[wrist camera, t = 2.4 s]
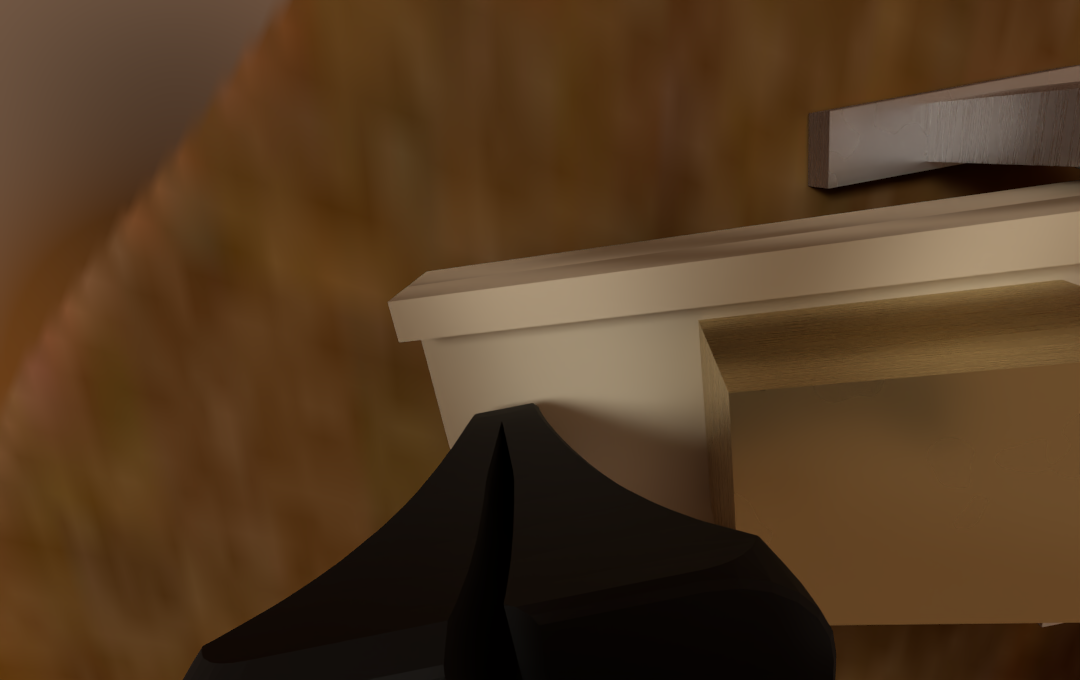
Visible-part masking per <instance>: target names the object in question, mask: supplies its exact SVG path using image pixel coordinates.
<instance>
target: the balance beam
mask: <svg viewBox="0 0 1080 680" xmlns="http://www.w3.org/2000/svg"><path fill="white" fill-rule="evenodd" d="M1053 280H1065V281H1068V282H1071V283H1074V284H1076V285H1079V286H1080V180H1076V181H1069V182H1062V183H1055V184H1047V185H1040V186H1033V187H1026V188H1019V189H1012V190H1005V191H998V192H990V193H983V194H976V195H969V196H962V197H955V198H948V199H941V200H933V201H926V202H919V203H912V204H905V205H898V206H891V207H884V208H876V209H869V210H862V211H855V212H848V213H841V214H834V215H827V216H819V217H812V218H805V219H798V220H791V221H784V222H777V223H770V224H762V225H755V226H748V227H741V228H734V229H727V230H720V231H713V232H705V233H698V234H691V235H684V236H677V237H670V238H663V239H656V240H648V241H641V242H634V243H627V244H620V245H613V246H606V247H599V248H591V249H584V250H577V251H570V252H563V253H556V254H549V255H542V256H534V257H527V258H520V259H513V260H506V261H499V262H492V263H485V264H477V265H470V266H463V267H456V268H449V269H442V270H435V271H428V272H426V273H424V274H423V275H422V276H420V277H419V278H418V279H417V280H415V281H414V282H413V283H411V284H410V285H409V286H408V287H406V288H405V289H404V290H402V291H401V292H400V293H399V294H397V295H396V296H395V297H393V298H392V299H391V300H390V301H388V305H389V309H390V312H391V316H392V319H393V323H394V326H395V330H396V333H397V337H398V341H399V342H406V341H415V340H421V341H422V344H423V348H424V352H425V356H426V360H427V363H428V367H429V371H430V375H431V378H432V382H433V386H434V390H435V394H436V397H437V401H438V405H439V409H440V412H441V416H442V420H443V424H444V428H445V431H446V435H447V439H448V443H449V446H450V450H451V448H452V447H453V445H454V444H455V442H456V441H457V439H458V438H459V436H460V435H461V433H462V432H463V430H464V429H465V427H466V426H467V424H468V423H469V422H470V420H471V419H472V417H473V416H474V415H475V414H478V413H483V412H488V411H493V410H498V409H504V408H509V407H514V406H519V405H525V404H530V403H534V404H535V405H537V406H538V407H539V409H540V411H541V413H542V414H543V416H544V417H545V419H546V420H547V422H548V423H549V424H550V425H551V427H552V428H553V429H554V430H555V431H556V432H557V434H558V435H559V436H560V437H561V438H562V439H563V440H564V441H565V442H566V443H567V444H568V445H569V446H570V447H571V448H572V449H573V450H574V451H575V452H577V453H578V454H579V455H580V456H581V457H582V458H583V459H585V460H586V461H587V462H588V463H589V464H591V465H592V466H593V467H594V468H596V469H597V470H598V471H600V472H601V473H602V474H604V475H605V476H607V477H608V478H610V479H611V480H613V481H614V482H616V483H617V484H619V485H621V486H622V487H624V488H626V489H628V490H630V491H632V492H634V493H636V494H638V495H640V496H642V497H644V498H646V499H648V500H650V501H652V502H654V503H656V504H659V505H661V506H663V507H666V508H668V509H671V510H673V511H676V512H679V513H682V514H684V515H687V516H690V517H693V518H695V519H698V520H701V521H705V522H708V523H712V524H715V522H714V518H713V514H712V510H711V500H710V485H709V470H708V456H707V441H706V427H705V412H704V398H703V383H702V369H701V354H700V340H699V325H698V320H704V319H713V318H722V317H731V316H740V315H749V314H758V313H767V312H776V311H785V310H794V309H803V308H812V307H821V306H830V305H838V304H847V303H856V302H865V301H874V300H883V299H892V298H901V297H910V296H919V295H928V294H937V293H946V292H955V291H964V290H973V289H982V288H990V287H999V286H1008V285H1017V284H1026V283H1035V282H1044V281H1053Z"/></svg>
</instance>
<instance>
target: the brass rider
mask: <svg viewBox="0 0 1080 680" xmlns="http://www.w3.org/2000/svg"><path fill="white" fill-rule="evenodd" d="M698 325H699V340H700V354H701V369H702V383H703V398H704V412H705V427H706V441H707V456H708V470H709V485H710V500H711V510H712V514H713V518H714V522H715V524H716V525H720V526H724V527H727V528H731V529H735V530H739V531H743V532H746V533H750V534H754V535H758V536H759V537H760V538H761V539H762V540H763V541H764V542H765V543H766V544H767V545H768V547H769V548H770V549H771V550H772V551H773V552H774V553H775V554H776V555H777V556H778V557H779V558H780V559H781V561H782V562H783V563H784V564H785V565H786V566H787V567H788V568H789V569H790V571H791V572H792V573H793V574H794V575H795V576H796V577H797V579H798V580H799V581H800V582H801V583H802V585H803V586H804V587H805V589H806V590H807V591H808V593H809V594H810V595H811V597H812V598H813V599H814V601H815V602H816V604H817V605H818V607H819V608H820V610H821V611H822V613H823V615H824V617H825V618H826V620H827V622H828V623H829V625H902V624H993V623H1080V286H1079V285H1076V284H1074V283H1071V282H1068V281H1065V280H1053V281H1044V282H1035V283H1026V284H1017V285H1008V286H999V287H990V288H982V289H973V290H964V291H955V292H946V293H937V294H928V295H919V296H910V297H901V298H892V299H883V300H874V301H865V302H856V303H847V304H838V305H830V306H821V307H812V308H803V309H794V310H785V311H776V312H767V313H758V314H749V315H740V316H731V317H722V318H713V319H704V320H698Z"/></svg>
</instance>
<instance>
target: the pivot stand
mask: <svg viewBox="0 0 1080 680" xmlns="http://www.w3.org/2000/svg"><path fill="white" fill-rule="evenodd" d="M964 163H984V164H1013V165H1042V166H1072V167H1075V168H1078V169H1080V65H1075V66H1068V67H1062V68H1056V69H1051V70H1045V71H1040V72H1034V73H1029V74H1023V75H1018V76H1012V77H1007V78H1001V79H996V80H990V81H985V82H979V83H974V84H968V85H963V86H957V87H952V88H946V89H941V90H935V91H930V92H924V93H919V94H913V95H908V96H902V97H897V98H891V99H886V100H880V101H875V102H869V103H864V104H858V105H853V106H847V107H842V108H836V109H831V110H825V111H820V112H814V113H809V165H808V186H811V187H819V188H827V189H829V188H834V187H840V186H845V185H851V184H856V183H861V182H867V181H872V180H878V179H883V178H888V177H894V176H899V175H905V174H910V173H915V172H921V171H926V170H932V169H937V168H942V167H948V166H953V165H959V164H964ZM1037 624H1038V625H1040V626H1041V627H1046V626H1051V625H1056V624H1061V623H1037Z"/></svg>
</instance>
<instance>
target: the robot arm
mask: <svg viewBox="0 0 1080 680" xmlns="http://www.w3.org/2000/svg"><path fill="white" fill-rule="evenodd" d="M835 673H836V650H835V643H834V636H833V630H832V629H831V627H830V625H829V623H828V622H827V620H826V618H825V617H824V615H823V613H822V611H821V610H820V608H819V607H818V605H817V604H816V602H815V601H814V599H813V598H812V597H811V595H810V594H809V593H808V591H807V590H806V589H805V587H804V586H803V585H802V583H801V582H800V581H799V580H798V579H797V577H796V576H795V575H794V574H793V573H792V572H791V571H790V569H789V568H788V567H787V566H786V565H785V564H784V563H783V562H782V561H781V559H780V558H779V557H778V556H777V555H776V554H775V553H774V552H773V551H772V550H771V549H770V548H769V547H768V545H767V544H766V543H765V542H764V541H763V540H762V539H761V538H760V537H759V536H758V535H754V534H750V533H746V532H743V531H739V530H735V529H731V528H727V527H724V526H720V525H716V524H712V523H708V522H705V521H701V520H698V519H695V518H693V517H690V516H687V515H684V514H682V513H679V512H676V511H673V510H671V509H668V508H666V507H663V506H661V505H659V504H656V503H654V502H652V501H650V500H648V499H646V498H644V497H642V496H640V495H638V494H636V493H634V492H632V491H630V490H628V489H626V488H624V487H622V486H621V485H619V484H617V483H616V482H614V481H613V480H611V479H610V478H608V477H607V476H605V475H604V474H602V473H601V472H600V471H598V470H597V469H596V468H594V467H593V466H592V465H591V464H589V463H588V462H587V461H586V460H585V459H583V458H582V457H581V456H580V455H579V454H578V453H577V452H575V451H574V450H573V449H572V448H571V447H570V446H569V445H568V444H567V443H566V442H565V441H564V440H563V439H562V438H561V437H560V436H559V435H558V434H557V432H556V431H555V430H554V429H553V428H552V427H551V425H550V424H549V423H548V422H547V420H546V419H545V417H544V416H543V414H542V413H541V411H540V409H539V407H538V406H537V405H535V404H534V403H530V404H525V405H519V406H514V407H509V408H504V409H498V410H493V411H488V412H483V413H478V414H475V415H474V416H473V417H472V419H471V420H470V422H469V423H468V424H467V426H466V427H465V429H464V430H463V432H462V433H461V435H460V436H459V438H458V439H457V441H456V442H455V444H454V445H453V447H452V448H451V450H450V451H449V452H448V454H447V455H446V457H445V458H444V459H443V461H442V462H441V464H440V465H439V466H438V468H437V469H436V470H435V471H434V472H433V474H432V475H431V476H430V477H429V478H428V480H427V481H426V482H425V483H424V485H423V486H422V487H421V488H420V489H419V491H418V492H417V493H416V494H415V495H414V496H413V497H412V498H411V499H410V500H409V501H408V502H407V504H406V505H405V506H404V507H403V508H402V509H401V510H400V511H398V512H397V513H396V514H395V515H394V516H393V517H392V518H391V519H390V520H389V521H388V522H387V523H386V524H385V525H384V526H383V527H382V528H380V529H379V530H378V531H377V532H376V533H374V534H373V535H372V536H371V537H370V538H368V539H367V540H366V541H365V542H363V543H362V544H361V545H360V546H359V547H357V548H356V549H355V550H354V551H352V552H351V553H350V554H349V555H348V556H346V557H345V558H344V559H343V560H341V561H340V562H339V563H337V564H336V565H335V566H333V567H332V568H330V569H329V570H328V571H326V572H325V573H323V574H322V575H321V576H319V577H318V578H316V579H315V580H313V581H312V582H310V583H309V584H307V585H306V586H304V587H303V588H301V589H300V590H298V591H297V592H295V593H294V594H292V595H291V596H289V597H288V598H286V599H284V600H283V601H281V602H280V603H278V604H276V605H275V606H273V607H271V608H270V609H268V610H266V611H264V612H263V613H261V614H259V615H257V616H256V617H254V618H252V619H250V620H249V621H247V622H245V623H243V624H242V625H240V626H238V627H237V628H235V629H233V630H231V631H230V632H228V633H226V634H224V635H223V636H221V637H219V638H217V639H215V640H213V641H211V642H210V643H208V644H206V645H204V646H203V647H202V649H201V650H200V652H199V653H198V655H197V656H196V658H195V660H194V661H193V663H192V665H191V667H190V668H189V670H188V672H187V673H186V675H185V677H184V679H183V680H835Z"/></svg>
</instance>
